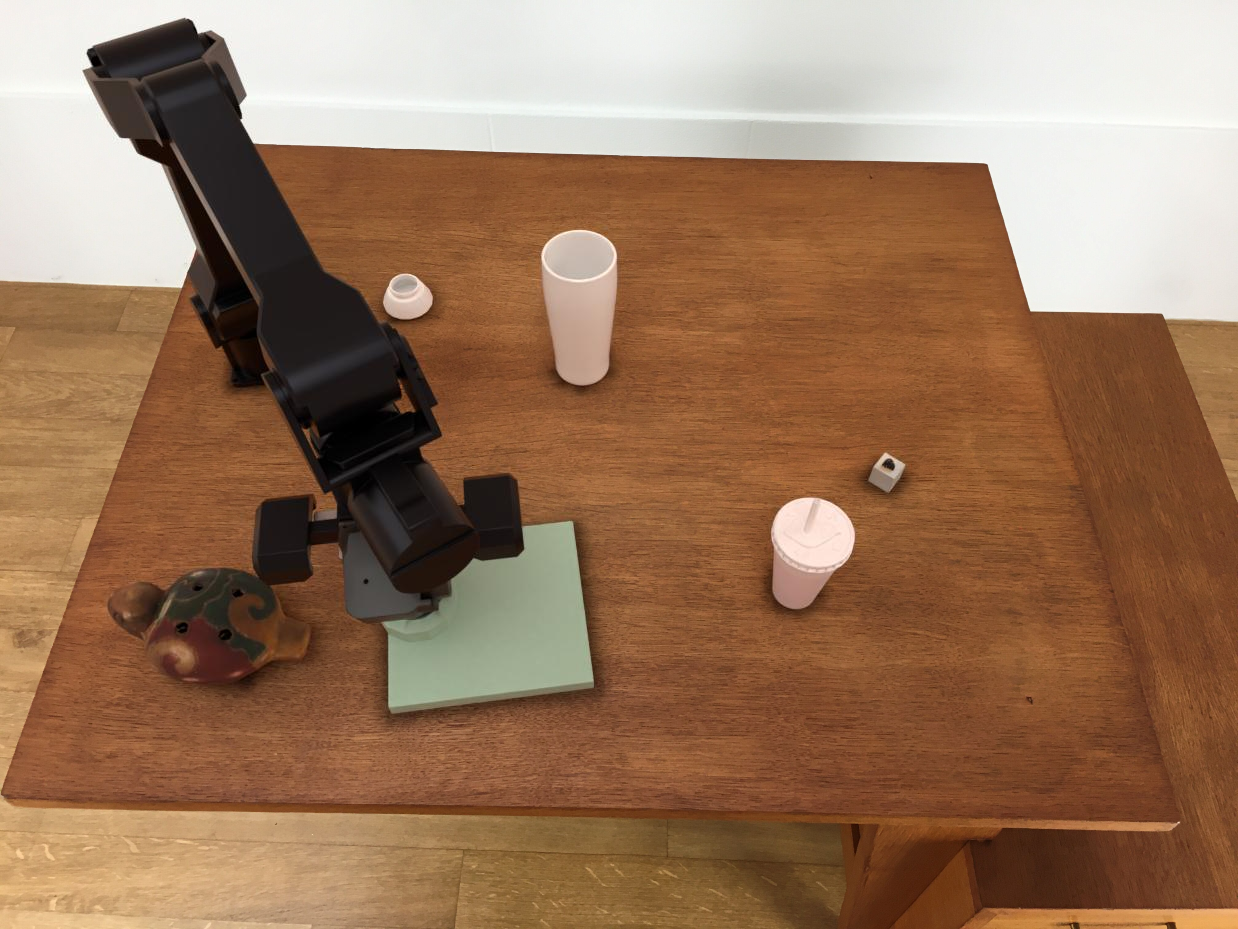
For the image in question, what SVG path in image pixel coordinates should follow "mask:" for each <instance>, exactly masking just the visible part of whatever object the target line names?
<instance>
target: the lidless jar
mask: <svg viewBox="0 0 1238 929" xmlns="http://www.w3.org/2000/svg"><path fill="white" fill-rule="evenodd" d="M383 295H384V296H383V302H382V304H383V307H384V309H385V312H386V313H387V314H388V315H390V316H391V317H393V318H396V319H399V320H412V319H416V318H419V317H421V316H423V315H425V314H426V313H427V312H429V310H430V308H431V307H432V306H433V300H434V297H433V294H432V291H431V290H430V288H429V287H427V285H426V284H425V283H424V282H423V281H421V280H420V279H419V278H418V277H417V276H415V275H414V274H410V273H401V274H400V273H399V274H398V275H396V276H394V277H393V278H392V279H391V280H390V281H389V284H388V287H387V288H386V291H385V293H384V294H383Z"/></svg>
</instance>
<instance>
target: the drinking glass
mask: <svg viewBox="0 0 1238 929" xmlns="http://www.w3.org/2000/svg"><path fill="white" fill-rule="evenodd" d="M540 257H541V258H540V260H541V264H540V265H541V266H540V268H541V269H540V271H541V285H542V293H543V300H544V306H545V310H546V315H547V321H548V324H549V325H548V326H549V331H550V336H551V342H552V348H553V353H554V362H555V369H556V372H557V374H558V375H559V376H560V378H561V379H562V380H564V381H565V382H567V383H569V384H571V385H575V386H582V387H583V386H591V385H594V384H596V383H599V381H600V380H602V379H603V378H605V376H606V375H607V373H608V371H609V367H610V351H611V342H612V334H613V329H614V328H613V327H614V319H615V311H616V306H617V305H616V304H617V296H618V295H617V294H618V284H619V283H618V281H619V280H618V279H619V278H618V276H619V274H618V253H617V249H616V247H615V245H614V244H613V243H612V242H611V241H610V240H609V238H607V237H606V236H604V235H603V234H600V233H598V232H595V231H592V230H585V229H575V230H573V229H572V230H568V231H563V232H561V233H558V234H557V235H555V236H553V237H551V238H550V239H549V240H548V241H547V242H546V243H545V245H544V246H543V248H542V250H541V255H540Z"/></svg>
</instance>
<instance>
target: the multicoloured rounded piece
mask: <svg viewBox="0 0 1238 929" xmlns="http://www.w3.org/2000/svg"><path fill="white" fill-rule="evenodd" d="M106 607H107V608H106V609H107V612H108V614H109V615H110V617H111V618H112V619H113V621H114V622H115V623H116V625H118V626H119V627H120V628H121V629H122V630H124V631H125V632H127V633H128V634H129V635H131V636H134V637H136V638H139V639H140V640H142V641H143V646H144V648H143V650H144V656H145V658H146V660H147V662H148V663H149V665H150V667H152V669H154V670H155V671H157V672H158V673H160V674H161V675H163V676H165V677H167V678H170V679H173V680H175V681H178V682H182V683H188V684H193V685H194V684H195V685H229V684H234V683H238V682H239V681H240V680H242V679H244V677H247V676H249V675H250V674H252V673H254V672H256V671H257V670H259V669H260V668H262V667H263V666H265V665H266V664H268V663H269V662H273V661H299V660H302V659H304V657H305V656H306V654H307V653H308V651H309V650H310V648H311V641H312V627H311V625H310V624H309V623H307V622H304V621H302V620H298V619H295V618H291V617H289V616H287V615H285V613H284V611H283V608H282V605H281V601H280V599H279V597H278V595H277V593H276V592H275V590H274V589H273V587H271V586H267V585H266V584H265V583H264V582H262V581H261V580H260V579H259V577H258V575H257V576H256V575H254V574H253V573H251V572H250V573H249V572H248V571H245V570H241V569H236V568H232V567H231V568H230V567H209V568H206V567H205V568H201V569H196V570H193V571H191V572H190V571H189V572H188V573H186V574H183V575H181V576H180V577H179V578H177V579H176V580H175V581H174V582H173V583H172V584H171V585H170V587H169V588H168V589H166V590H165V589H162V588H160V586H158V585H156V584H155V583H152V582H148V581H142V580H141V581H140V580H138V581H132V582H129V583H128V582H127V583H126V584H122V585H120V586H119V587H117V588H116V589H114V590H113V591H112V592H111V594H109V596H108V599H107V603H106Z"/></svg>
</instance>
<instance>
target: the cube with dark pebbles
mask: <svg viewBox="0 0 1238 929" xmlns="http://www.w3.org/2000/svg"><path fill="white" fill-rule="evenodd" d="M905 467H906V464H905V463H904V462H902V461H901V460H899V459H897V458H896V457H894V456H892V455H890V454H889V453H887V452H885V451H884V453H883V454H882V456H881V457H880V458H879V459H878V461H876V463H875V464H874V466H873V467H872V469H871V472H870V475H869V477H868V480H867V482H869V483H871V484H873V485H874V486H876V487H877V488H879V489H881V490H882V491H884V492H886V493H887V494H889V493H890V492H891V490H892V489H893V488H894V486H896V484H897V483H898V481H899V480H900V479H901V476H902V475H903V473H904V470H905Z"/></svg>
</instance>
